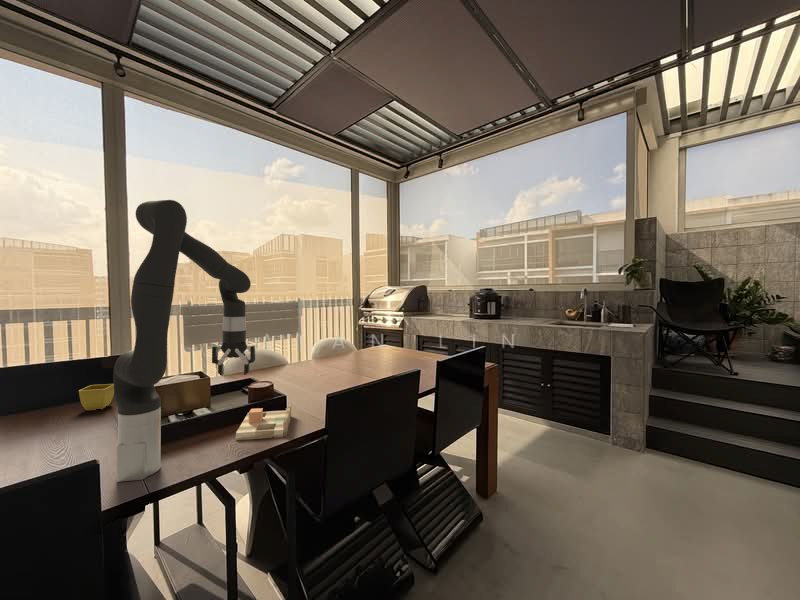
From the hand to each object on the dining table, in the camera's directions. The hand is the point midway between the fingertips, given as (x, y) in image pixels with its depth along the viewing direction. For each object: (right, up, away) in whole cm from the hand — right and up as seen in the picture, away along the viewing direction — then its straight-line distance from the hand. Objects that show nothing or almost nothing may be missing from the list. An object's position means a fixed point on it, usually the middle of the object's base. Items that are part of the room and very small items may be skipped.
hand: (233, 374), depth 120 cm
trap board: (+10, -20, +3) cm, 23 cm away
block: (+7, -17, +2) cm, 19 cm away
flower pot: (-66, -18, +19) cm, 71 cm away
